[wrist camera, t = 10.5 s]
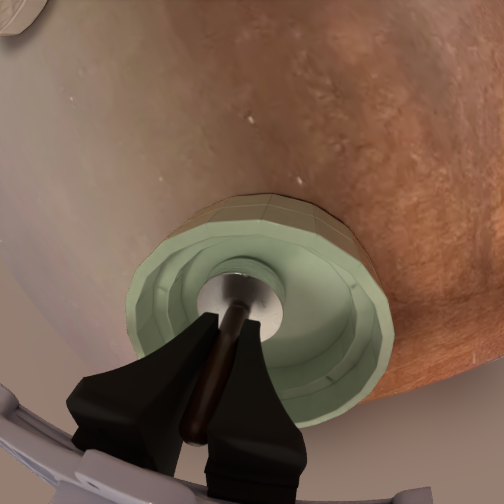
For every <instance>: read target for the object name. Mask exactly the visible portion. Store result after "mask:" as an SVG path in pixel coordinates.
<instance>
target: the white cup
mask: <svg viewBox="0 0 504 504" xmlns="http://www.w3.org/2000/svg"><path fill="white" fill-rule="evenodd" d="M46 2H47V0H0V36H12V35H17V34H20V33H21V32H22V31H24V30H25V29H26V28H27V27H28V26H30V25H31V24H32V23H33V21H34V20H35V19H36V17H37V16H38V15H39V13H40V12H41V11H42V10H43V8H44V6H45V4H46Z"/></svg>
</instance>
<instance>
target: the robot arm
mask: <svg viewBox="0 0 504 504" xmlns="http://www.w3.org/2000/svg"><path fill="white" fill-rule="evenodd" d="M218 327H219V314H216V313H211V312H204V313H203V314H202V315H201V316H200V317H198V318H197V319H196V320H195V321H194V322H193V323H192V324H191V325H189V326H188V327H187V328H186V329H185V330H183V331H182V332H181V333H180V334H178V335H177V336H176V337H175V338H173V339H172V340H170V341H169V342H168V343H166V344H165V345H163V346H162V347H160V348H159V349H157V350H156V351H154V352H152V353H151V354H149V355H147V356H145V357H143V358H141V359H139V360H137V361H135V362H132V363H130V364H128V365H126V366H123V367H120V368H117V369H114V370H111V371H108V372H105V373H101V374H97V375H92V376H88V377H84V378H83V379H82V380H81V381H80V382H79V383H78V385H77V386H76V387H75V389H74V390H73V392H72V393H71V394H70V396H69V397H68V399H67V400H66V404H67V407H68V409H69V411H70V413H71V415H72V417H73V418H74V420H75V422H76V423H77V425H78V426H79V428H78V429H77V431H76V432H75V434H74V435H73V436H72V435H70V434H68V433H66V432H64V431H62V430H61V429H59V428H57V427H55V426H54V425H52V424H50V423H48V422H47V421H45V420H44V419H42V418H41V417H39V416H37V415H36V414H34V413H32V412H31V411H29V410H28V409H27V408H25V407H23V406H22V405H21V404H19V401H18V399H17V398H16V397H15V395H14V394H13V393H12V392H11V391H10V390H9V389H7V388H6V387H4V386H3V385H2V384H0V446H1V447H2V448H3V449H4V450H5V451H7V452H8V453H9V454H10V455H11V456H13V457H14V458H15V459H16V460H17V461H19V462H20V463H21V464H22V465H24V466H25V467H26V468H28V469H29V470H30V471H32V472H33V473H34V474H36V475H37V476H38V477H40V478H41V479H43V480H44V481H45V482H47V483H48V484H50V485H51V486H53V487H54V488H56V489H57V490H56V492H55V494H54V495H53V497H52V499H51V501H50V503H49V504H433V499H432V492H431V487H423V488H417V489H410V490H405V491H402V492H400V493H397V494H396V495H395V496H394V497H393V498H390V499H380V500H366V501H341V502H340V501H336V502H335V501H302V500H296V492H297V491H296V490H297V488H298V485H299V477H300V475H301V474H302V472H303V470H304V469H305V467H306V464H307V453H306V447H305V443H304V440H303V436H302V433H301V432H300V430H299V429H298V428H297V426H296V425H295V424H294V422H293V421H292V419H291V418H290V416H289V415H288V413H287V412H286V410H285V408H284V406H283V405H282V403H281V401H280V399H279V397H278V395H277V393H276V391H275V389H274V386H273V384H272V382H271V379H270V376H269V373H268V370H267V367H266V364H265V360H264V356H263V351H262V346H261V338H260V328H261V323H260V322H259V321H256V320H250V319H245V320H244V322H243V324H242V326H241V330H240V335H239V341H238V346H237V352H236V357H235V361H234V365H233V368H232V371H231V373H230V376H229V379H228V381H227V384H226V387H225V389H224V392H223V394H222V396H221V399H220V401H219V403H218V405H217V408H216V410H215V412H214V414H213V416H212V418H211V420H210V422H209V424H208V426H207V438H208V453H209V457H208V460H207V463H206V467H205V470H204V473H206V482H207V486H203V485H199V484H195V483H191V482H187V481H184V480H180V479H176V478H174V473H175V469H176V465H177V461H178V458H179V454H180V451H181V447H182V443H183V440H182V438H181V437H180V435H179V431H178V427H179V423H180V421H181V418H182V416H183V413H184V411H185V408H186V406H187V404H188V401H189V399H190V396H191V394H192V392H193V389H194V387H195V384H196V382H197V379H198V377H199V375H200V372H201V370H202V367H203V365H204V363H205V360H206V358H207V355H208V353H209V351H210V348H211V346H212V343H213V341H214V339H215V336H216V334H217V331H218Z"/></svg>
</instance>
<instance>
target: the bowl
mask: <svg viewBox="0 0 504 504" xmlns="http://www.w3.org/2000/svg"><path fill="white" fill-rule="evenodd" d="M240 258H243V259H250V260H254V261H257V262H260V263H262V264H264V265H266V266H267V267H269V268H270V269H271V270H273V271H274V272H275V274H276V275H277V276H278V277H279V278H280V280H281V282H282V284H283V286H284V290H285V297H286V298H285V307H284V315H283V320H282V324H281V326H280V328H279V329H278V331H277V332H276V333H275V334H274V335H273V336H272V337H271V338H269V339H268V340H266V341H264V342H261V346H262V351H263V356H264V360H265V364H266V367H267V370H268V373H269V376H270V379H271V382H272V384H273V386H274V389H275V391H276V393H277V395H278V397H279V399H280V401H281V403H282V405H283V406H284V408H285V410H286V412H287V413H288V415H289V416H290V418H291V419H292V421H293V422H294V424H295V425H296V426H297V428H301V427H307V426H313V425H316V424H319V423H321V422H324V421H326V420H329V419H331V418H334V417H336V416H338V415H341V414H343V413H345V412H346V411H347V410H349V409H350V408H351V407H353V406H354V405H356V404H357V403H358V402H360V401H361V400H362V399H364V398H365V397H366V396H367V395H369V394H370V393H371V391H372V390H373V388H374V387H375V386H376V384H377V383H378V381H379V380H380V378H381V377H382V375H383V374H384V372H385V371H386V369H387V367H388V364H389V360H390V356H391V351H392V347H393V342H394V338H395V331H394V326H393V321H392V316H391V312H390V307H389V302H388V299H387V296H386V294H385V292H384V289H383V287H382V284H381V282H380V280H379V277H378V275H377V273H376V271H375V268H374V266H373V264H372V262H371V260H370V258H369V255H368V254H367V253H366V251H365V250H364V248H363V247H362V246H361V244H360V243H359V242H358V240H357V239H356V238H355V236H354V235H353V234H352V232H351V231H350V230H349V228H347V227H346V226H345V225H344V224H342V223H341V222H339V221H338V220H336V219H335V218H333V217H332V216H330V215H329V214H327V213H326V212H324V211H323V210H321V209H320V208H318V207H317V206H315V205H313V204H310V203H307V202H303V201H299V200H295V199H291V198H287V197H283V196H279V195H275V194H261V195H247V196H234V197H229V198H227V199H225V200H222V201H220V202H218V203H215V204H213V205H211V206H209V207H206V208H204V209H202V210H199V211H197V212H196V213H195V214H194V215H192V216H191V217H190V218H189V219H188V220H187V221H185V222H184V223H183V224H182V225H181V226H180V227H179V228H177V229H176V230H175V231H174V232H173V233H172V234H171V235H169V236H168V237H167V238H166V239H165V240H164V241H163V242H162V243H161V244H160V245H159V246H158V247H157V248H156V249H155V250H154V251H153V252H152V253H151V254H150V255H149V256H148V257H147V258H146V259H145V260H144V261H143V262H142V263H141V264H140V265H139V267H138V268H137V269H136V271H135V274H134V277H133V280H132V282H131V285H130V288H129V291H128V294H127V297H126V301H125V305H126V323H127V333H128V336H129V338H130V341H131V343H132V345H133V348H134V350H135V353H136V355H137V357H138V359H141V358H143V357H145V356H147V355H149V354H151V353H152V352H154V351H156V350H157V349H159V348H160V347H162V346H163V345H165V344H166V343H168V342H169V341H170V340H172V339H173V338H175V337H176V336H177V335H178V334H180V333H181V332H182V331H183V330H185V329H186V328H187V327H188V326H189V325H191V324H192V323H193V322H194V321H195V320H196V319H197V318H198V317H199V315H198V311H197V304H196V303H197V296H198V293H199V290H200V289H201V287H202V285H203V284H204V282H205V281H206V279H207V277H208V276H209V274H210V272H211V271H212V270H213V269H214V268H215V267H216V266H217V265H219V264H221V263H223V262H225V261H228V260H231V259H240Z"/></svg>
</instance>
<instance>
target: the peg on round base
mask: <svg viewBox="0 0 504 504" xmlns="http://www.w3.org/2000/svg"><path fill="white" fill-rule="evenodd" d="M285 298H286V297H285V290H284V286H283V284H282V282H281V280H280V278H279V277H278V276H277V275H276V274H275V272H274V271H273V270H271V269H270V268H269V267H267V266H266V265H264V264H262V263H260V262H257V261H254V260H250V259H243V258H240V259H231V260H228V261H225V262H223V263H221V264H219V265H217V266H216V267H215V268H214V269H213V270H212V271H211V272H210V274H209V276H208V277H207V279H206V281H205V282H204V284H203V285H202V287H201V289H200V290H199V293H198V296H197V303H196V304H197V311H198V315H199V317H200V316H201V315H202V314H203V313H204V312H211V313H216V314H219V327H218V331H217V334H216V336H215V339H214V341H213V343H212V346H211V348H210V351H209V353H208V355H207V358H206V360H205V363H204V365H203V367H202V370H201V372H200V375H199V377H198V379H197V382H196V384H195V387H194V389H193V392H192V394H191V396H190V399H189V401H188V404H187V406H186V408H185V411H184V413H183V416H182V418H181V421H180V423H179V427H178V431H179V435H180V437H181V438H182V440H183V441H184V442H185V443H187V444H189V445H191V446H196V447H200V446H204V445H207V444H208V438H207V426H208V424H209V422H210V420H211V418H212V416H213V414H214V412H215V410H216V408H217V405H218V403H219V401H220V399H221V396H222V394H223V392H224V389H225V387H226V384H227V381H228V379H229V376H230V373H231V371H232V368H233V365H234V361H235V357H236V352H237V346H238V341H239V335H240V330H241V326H242V324H243V322H244V320H245V319H250V320H256V321H259V322H260V323H261V328H260V338H261V342H264V341H266V340H268V339H269V338H271V337H272V336H273V335H274V334H275V333H276V332H277V331H278V329H279V328H280V326H281V324H282V320H283V315H284V307H285Z"/></svg>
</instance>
